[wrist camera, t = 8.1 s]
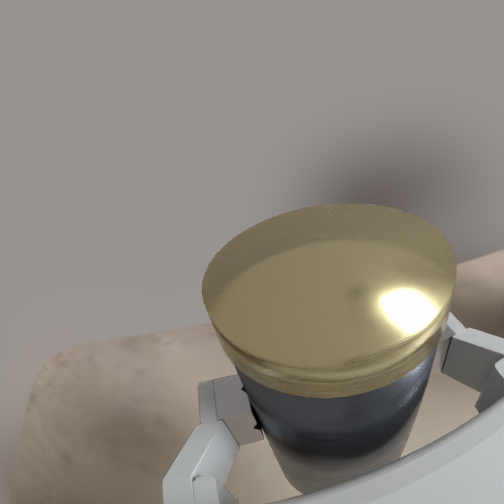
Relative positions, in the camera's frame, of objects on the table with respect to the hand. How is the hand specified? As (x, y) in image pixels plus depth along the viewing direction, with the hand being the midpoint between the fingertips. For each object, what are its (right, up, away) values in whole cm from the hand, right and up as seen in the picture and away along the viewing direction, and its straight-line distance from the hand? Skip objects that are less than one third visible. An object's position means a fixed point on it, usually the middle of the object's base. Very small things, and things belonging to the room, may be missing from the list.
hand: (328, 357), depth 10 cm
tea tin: (+1, -5, +2) cm, 6 cm away
